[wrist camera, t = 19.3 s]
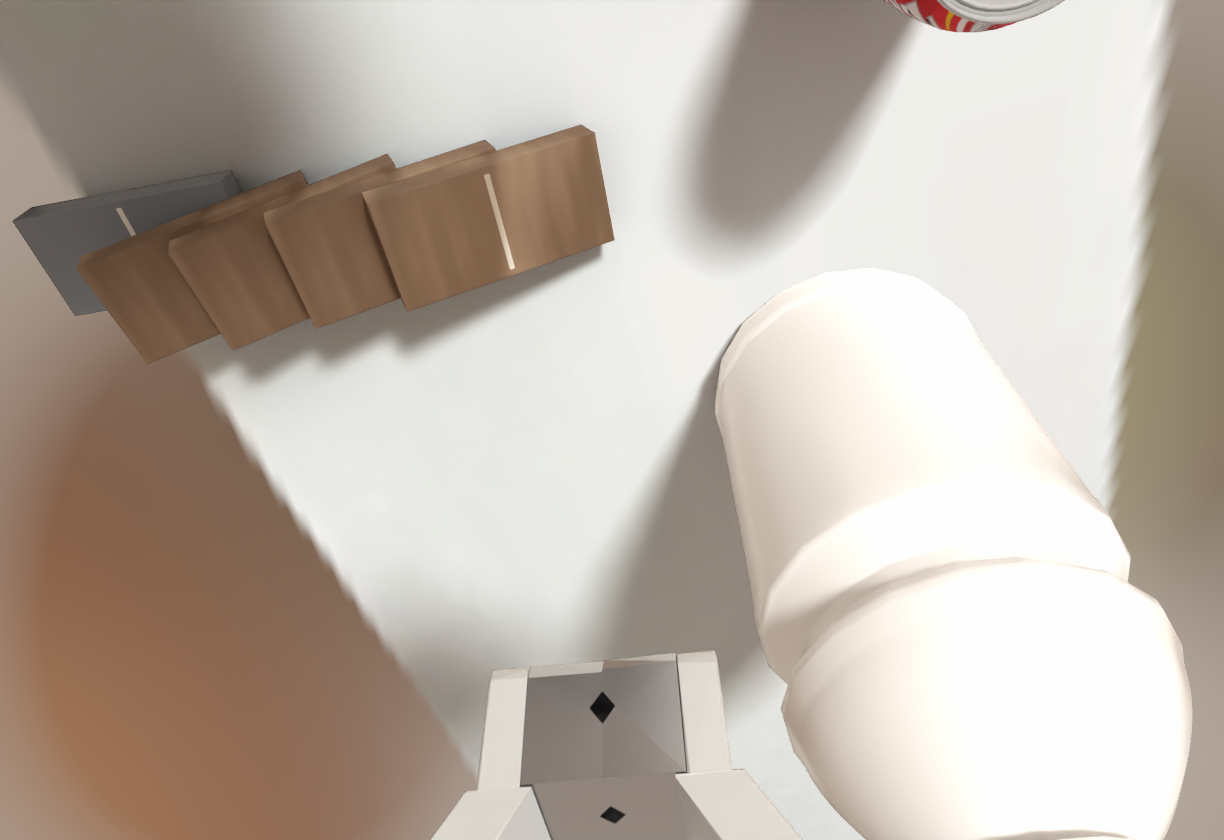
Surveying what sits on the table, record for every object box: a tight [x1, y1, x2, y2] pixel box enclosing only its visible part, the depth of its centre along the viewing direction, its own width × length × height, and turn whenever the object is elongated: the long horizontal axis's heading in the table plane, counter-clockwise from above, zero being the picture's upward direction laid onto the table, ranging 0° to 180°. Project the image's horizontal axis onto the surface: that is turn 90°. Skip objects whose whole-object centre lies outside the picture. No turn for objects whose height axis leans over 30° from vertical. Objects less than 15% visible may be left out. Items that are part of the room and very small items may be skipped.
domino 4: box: [362, 125, 614, 312], centre depth 36 cm, size 2×5×10 cm
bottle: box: [715, 268, 1192, 840], centre depth 33 cm, size 14×14×28 cm
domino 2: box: [168, 154, 396, 351], centre depth 36 cm, size 2×5×10 cm
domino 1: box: [77, 170, 308, 364], centre depth 37 cm, size 2×5×10 cm
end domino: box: [13, 170, 242, 316], centre depth 38 cm, size 2×5×10 cm
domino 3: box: [264, 140, 496, 329], centre depth 36 cm, size 2×5×10 cm
